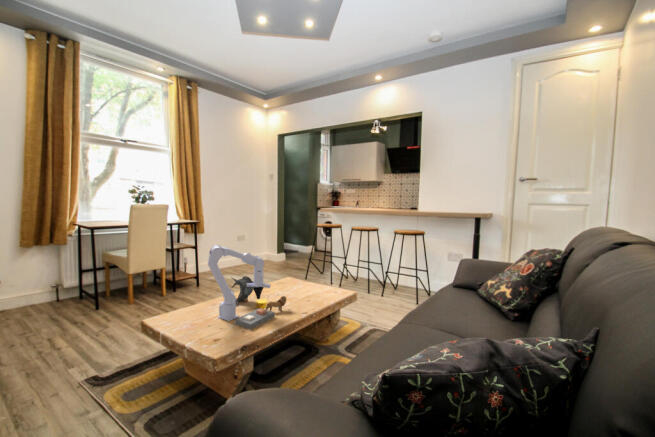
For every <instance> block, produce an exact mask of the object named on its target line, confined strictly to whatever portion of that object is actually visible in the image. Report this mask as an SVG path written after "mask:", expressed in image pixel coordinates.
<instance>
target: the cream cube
mask: <svg viewBox="0 0 655 437" xmlns="http://www.w3.org/2000/svg"><path fill="white" fill-rule="evenodd" d="M253 319H254V316H251V315H248V316H246V317H244V320H247V321H251V320H253Z"/></svg>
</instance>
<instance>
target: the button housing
mask: <svg viewBox="0 0 655 437" xmlns="http://www.w3.org/2000/svg"><path fill="white" fill-rule="evenodd" d="M259 309H261V308H257V309H254V310H252V311H250V312H248V313H246V314H244V315H241V316H239V317H237V318H235V319H234V325H236V326H239V327H242V328H245V329H247V330H253V329H255V328H257V327H258V326H261V325H262V324H265V323H266V322H268V321H269V320H272V319H273V318H275V311H272V310H271V311H270V310H268V309H267V310H266V313H265V314H263V315H259V314H256V310H259ZM248 315H251V316H254V319H253V320H251V321H247V320H244V317H246V316H248Z"/></svg>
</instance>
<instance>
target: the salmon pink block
mask: <svg viewBox="0 0 655 437" xmlns="http://www.w3.org/2000/svg"><path fill="white" fill-rule="evenodd" d="M258 309H259V308H258ZM255 310H256V314H259V315H263V314H265V313H266V308H261V309H259V310H257V309H255Z"/></svg>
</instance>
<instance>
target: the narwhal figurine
mask: <svg viewBox="0 0 655 437" xmlns="http://www.w3.org/2000/svg"><path fill="white" fill-rule="evenodd" d="M231 279H232V280H233V281H234V282H235V283H234V284H233V285H232V286H231V289H233V288H234V287H235V286H239V294H238V296H237V297H236V307H237V306H238V304H239V303H248V302H249V297H250V296H251V294H252V293H253V292H254V290H253V288H254V287H247V283H254V280H252V278H250V277H249V276H246V275H244V276H242V278H239V279H236V278H234V277H231Z"/></svg>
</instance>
